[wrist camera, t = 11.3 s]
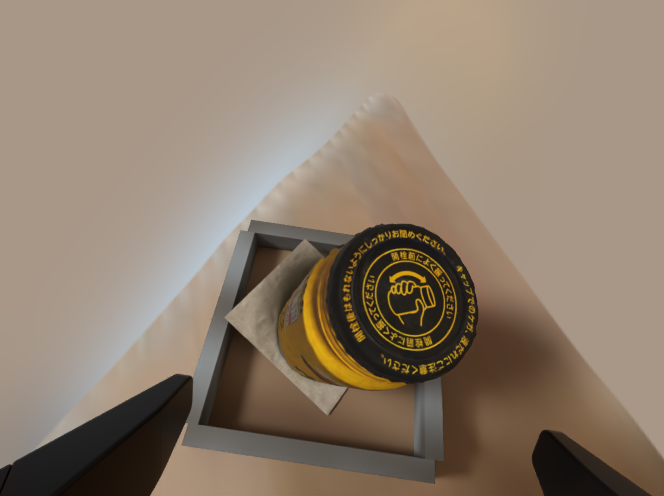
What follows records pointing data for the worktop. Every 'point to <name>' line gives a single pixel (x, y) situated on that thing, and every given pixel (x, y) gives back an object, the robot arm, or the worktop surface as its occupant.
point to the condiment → (363, 313)
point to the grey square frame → (289, 401)
